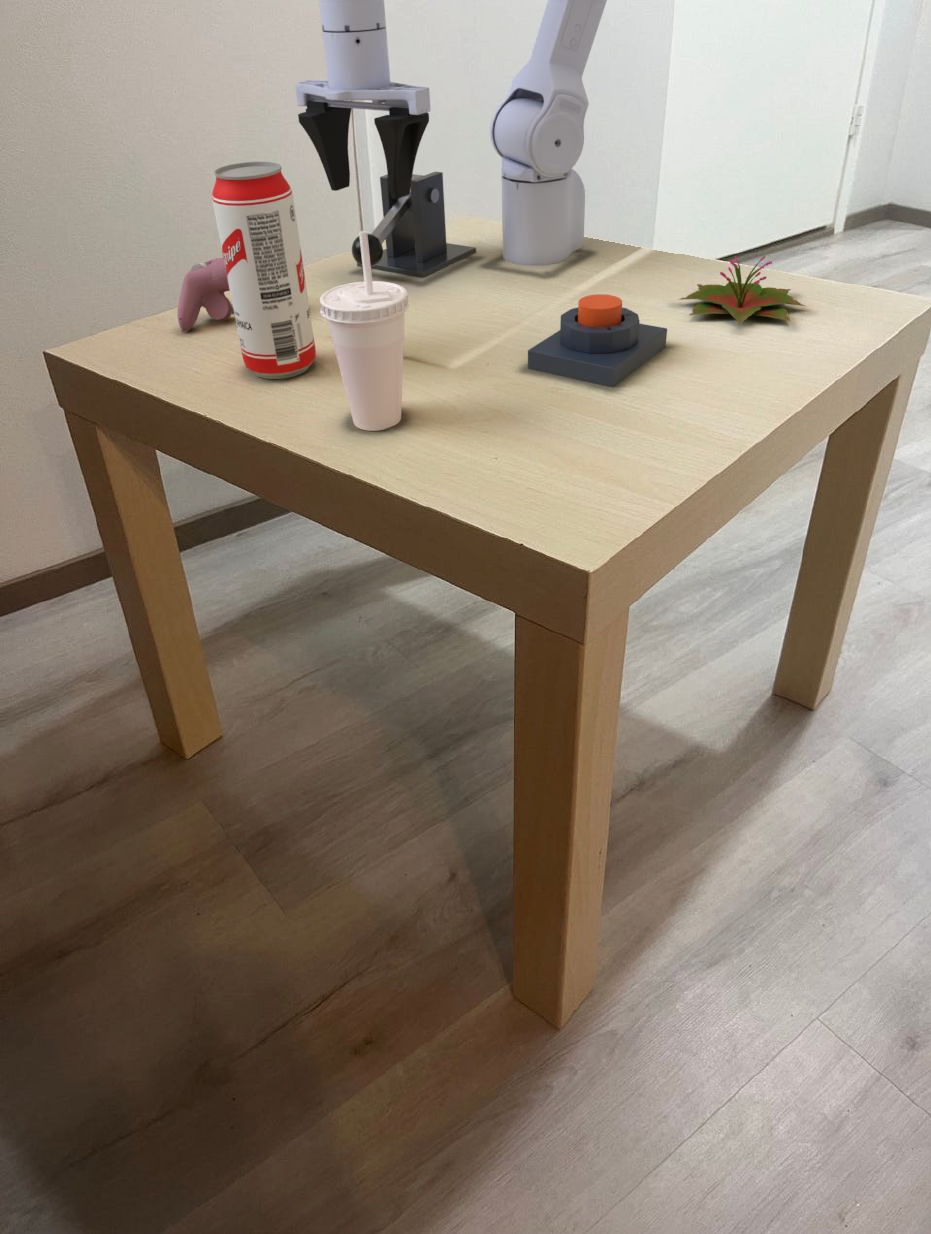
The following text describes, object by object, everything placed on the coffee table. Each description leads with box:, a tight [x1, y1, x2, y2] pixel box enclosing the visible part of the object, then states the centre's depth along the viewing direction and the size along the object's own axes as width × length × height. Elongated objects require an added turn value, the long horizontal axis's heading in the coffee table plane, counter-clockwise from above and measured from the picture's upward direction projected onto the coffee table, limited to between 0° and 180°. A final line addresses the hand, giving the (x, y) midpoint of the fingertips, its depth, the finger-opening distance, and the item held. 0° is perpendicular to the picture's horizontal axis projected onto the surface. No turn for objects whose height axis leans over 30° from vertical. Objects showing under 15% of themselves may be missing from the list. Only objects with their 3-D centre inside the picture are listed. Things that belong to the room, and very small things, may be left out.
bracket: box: [356, 171, 477, 279], centre depth 100 cm, size 10×9×9 cm
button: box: [577, 293, 623, 327], centre depth 78 cm, size 4×4×2 cm
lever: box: [351, 173, 424, 267], centre depth 97 cm, size 12×3×3 cm, turn 145°
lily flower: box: [677, 255, 806, 325], centre depth 87 cm, size 12×12×5 cm
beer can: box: [211, 161, 317, 380], centre depth 77 cm, size 6×6×16 cm
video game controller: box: [177, 257, 233, 333], centre depth 90 cm, size 10×5×7 cm, turn 84°
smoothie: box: [319, 230, 410, 432], centre depth 68 cm, size 6×6×14 cm
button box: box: [527, 306, 668, 388], centre depth 79 cm, size 10×8×4 cm
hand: (370, 192), depth 91 cm, fingers open, 7 cm apart
